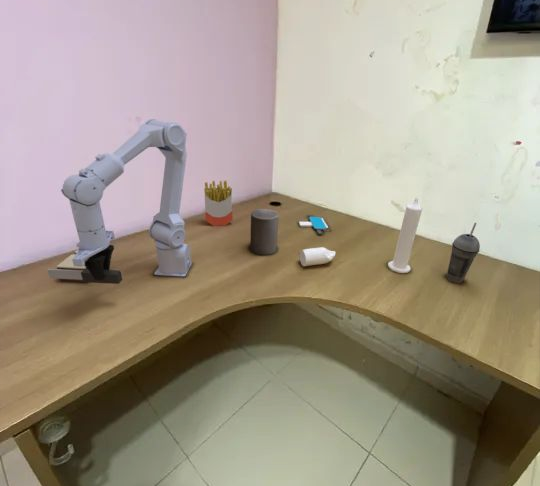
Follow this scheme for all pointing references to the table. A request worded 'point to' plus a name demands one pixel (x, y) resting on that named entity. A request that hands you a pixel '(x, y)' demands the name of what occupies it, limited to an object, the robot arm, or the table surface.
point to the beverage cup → (462, 256)
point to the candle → (406, 238)
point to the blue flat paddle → (316, 224)
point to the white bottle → (315, 256)
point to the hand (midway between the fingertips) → (102, 276)
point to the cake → (70, 267)
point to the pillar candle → (264, 231)
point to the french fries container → (218, 203)
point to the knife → (86, 275)
